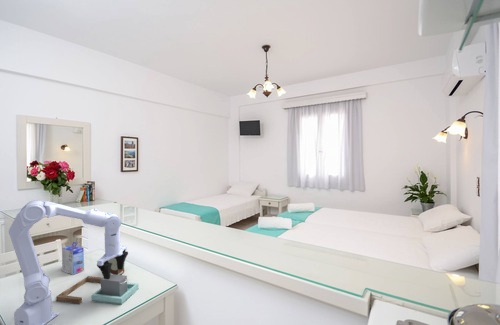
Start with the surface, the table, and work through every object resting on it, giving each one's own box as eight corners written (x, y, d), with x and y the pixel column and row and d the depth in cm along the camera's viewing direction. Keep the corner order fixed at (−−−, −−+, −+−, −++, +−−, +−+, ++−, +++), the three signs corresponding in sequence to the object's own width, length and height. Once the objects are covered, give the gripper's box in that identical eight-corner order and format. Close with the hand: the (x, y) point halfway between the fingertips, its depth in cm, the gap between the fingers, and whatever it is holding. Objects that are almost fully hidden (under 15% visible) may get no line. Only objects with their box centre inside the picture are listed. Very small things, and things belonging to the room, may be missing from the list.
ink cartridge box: (85, 270, 119) (84, 242, 118) (73, 275, 114) (72, 247, 113) (73, 266, 123) (72, 239, 122) (61, 271, 118) (60, 243, 117)
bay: (79, 304, 93) (79, 299, 92) (56, 301, 94) (56, 296, 94) (108, 282, 108) (108, 278, 108) (88, 280, 110) (88, 276, 109)
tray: (121, 304, 92) (121, 298, 92) (91, 301, 94) (91, 295, 94) (138, 289, 102) (138, 283, 102) (111, 286, 105) (110, 280, 105)
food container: (131, 272, 117) (131, 253, 116) (119, 277, 111) (119, 258, 111) (118, 265, 123) (117, 247, 122) (106, 271, 118) (105, 252, 117)
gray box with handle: (122, 297, 95) (121, 281, 95) (101, 295, 97) (100, 279, 97) (129, 291, 100) (128, 275, 99) (109, 289, 101) (108, 273, 101)
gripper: (107, 250, 89) (109, 284, 90) (132, 236, 104) (133, 265, 104) (92, 249, 91) (93, 282, 91) (118, 236, 105) (119, 264, 106)
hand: (113, 273), depth 98 cm, fingers open, 7 cm apart
